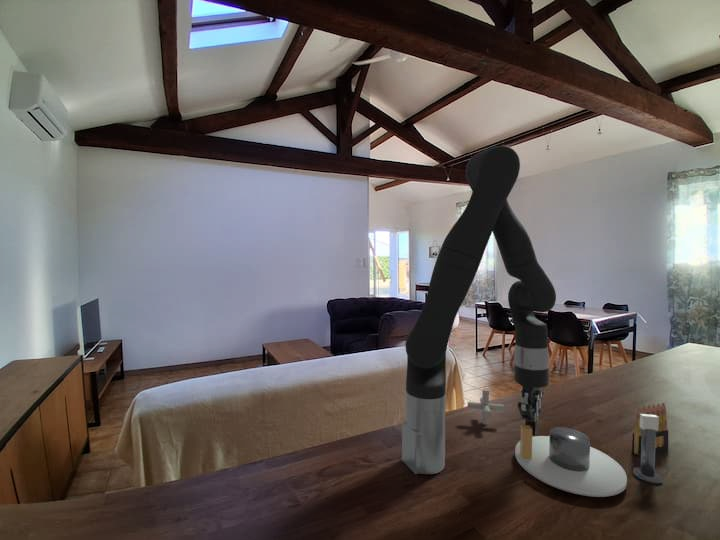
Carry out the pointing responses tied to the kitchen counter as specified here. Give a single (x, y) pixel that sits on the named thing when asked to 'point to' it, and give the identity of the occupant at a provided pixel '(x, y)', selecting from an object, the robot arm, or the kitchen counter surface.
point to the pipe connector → (485, 406)
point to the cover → (569, 449)
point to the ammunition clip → (660, 434)
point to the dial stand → (648, 450)
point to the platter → (596, 481)
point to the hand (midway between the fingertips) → (531, 433)
